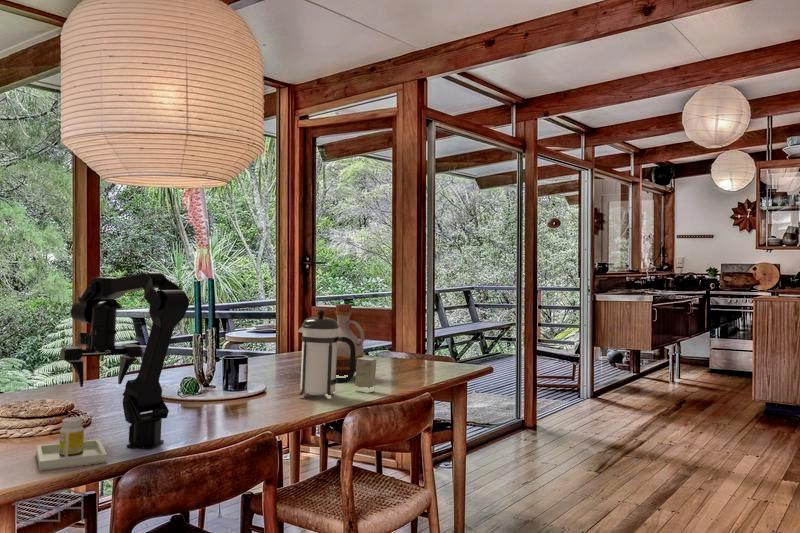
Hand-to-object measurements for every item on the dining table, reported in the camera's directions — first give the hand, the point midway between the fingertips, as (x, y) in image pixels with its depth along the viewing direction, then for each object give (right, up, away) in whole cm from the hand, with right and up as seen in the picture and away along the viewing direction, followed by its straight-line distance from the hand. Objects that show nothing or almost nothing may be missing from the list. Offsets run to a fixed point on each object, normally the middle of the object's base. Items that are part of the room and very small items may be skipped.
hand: (100, 385), depth 166 cm
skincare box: (+65, -15, +68) cm, 95 cm away
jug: (+54, -15, +94) cm, 110 cm away
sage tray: (+4, -12, -22) cm, 26 cm away
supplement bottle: (+4, -12, -22) cm, 25 cm away
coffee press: (+50, -15, +56) cm, 77 cm away
